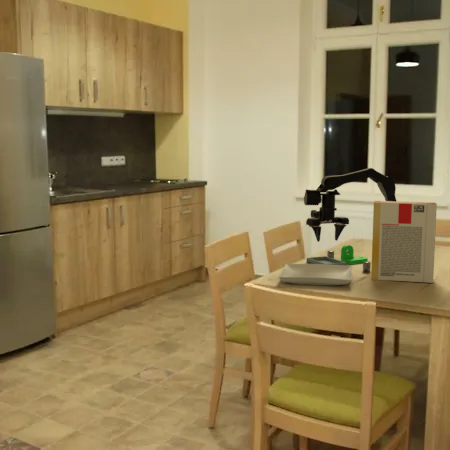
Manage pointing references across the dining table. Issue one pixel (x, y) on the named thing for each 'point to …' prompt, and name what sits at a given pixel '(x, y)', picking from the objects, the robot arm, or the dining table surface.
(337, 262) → the parts tray
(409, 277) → the pasta box
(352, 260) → the mechanical part
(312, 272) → the square plate
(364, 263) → the spacer posts
